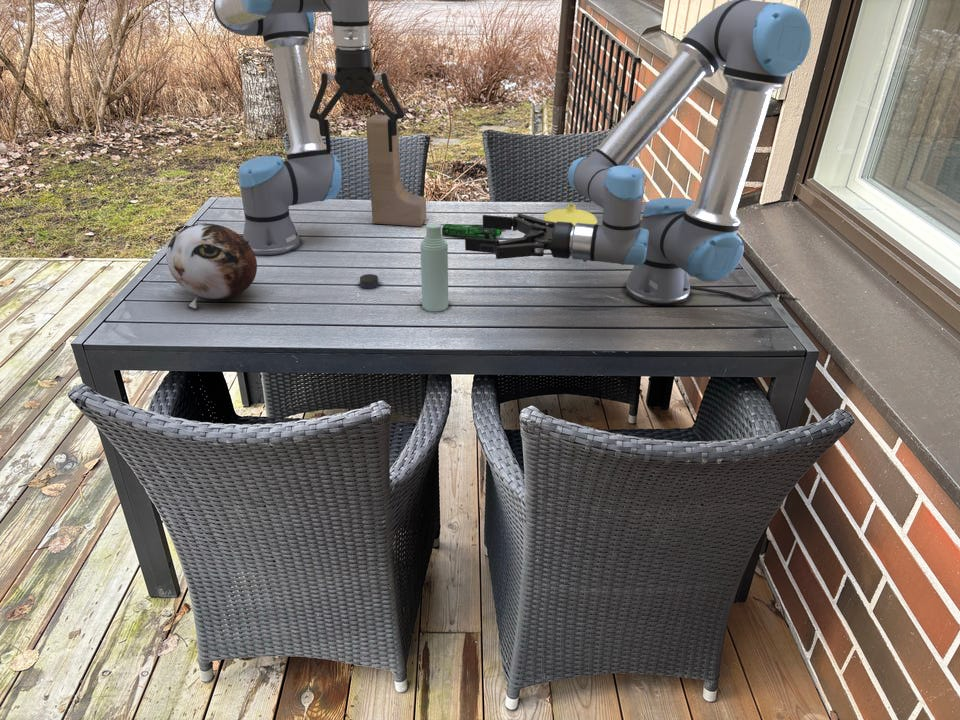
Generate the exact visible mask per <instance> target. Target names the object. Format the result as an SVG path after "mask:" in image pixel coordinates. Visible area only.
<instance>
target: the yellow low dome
mask: <svg viewBox="0 0 960 720" xmlns="http://www.w3.org/2000/svg"><path fill="white" fill-rule="evenodd" d="M543 220H544V221H549V222H555V223H556V222H558V221H559V222H571V223H572V224H573V225H575V224H576V223H586V224H595V225H598V224H597V223H598V219H597V217H596V215H595V214H593V213H591V212H589V211H587V210H584V209H578V208H576V205H575V204H571V203H570V204H567V208H557V209H552V210H549V211H548V212H547V213H545V214H544V216H543Z"/></svg>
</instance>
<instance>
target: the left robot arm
mask: <svg viewBox="0 0 960 720" xmlns="http://www.w3.org/2000/svg"><path fill="white" fill-rule="evenodd" d="M212 11H213V15H214V17H215V19H216V21H217V22H218V23H219V24H220V25H221V26H222V27H223V28H224V29H225V30H226V31H228V32H230V33H233V34H236V35H238V36H239V35H240V36H244V37H262V40H263V45H264V46H266V47H267V48H268V49H269V50H270V51H271V53H272V58H273V63H274V69H275V74H276V79H277V83H278V84H277V85H278V88H279V89H278V90H279V94H280V99H281V104H282V110H283V114H284V119H285V120H284V121H285V125H286V130H287V135H288V140H289V145H290V146H289V149H288V150H287V151H286V153H285V154H286V159H287V160H283V158H282V157H281V156H279V155H262V156H258V157H253V158H251V159H248V160H245V161H244V162H243V163H241V165H240V166H239V167H238V170H237V174H238V186H239V190H240V196H241V201H242V208H243V212H244V213H243V215H244V219H245V220H244V226H243V228H244V229H243V234H242V235H241V234H239V235H240V236H241V237H243V238H244V239H245V240H246V241H249V242H248V244H249V245H250V247H251V248H252V250H253V252H254V254H255V256H256V255H257V256H275V255H281V254H282V255H283V254H285V253H289V252H291V251H293V250H296V249H297V248H298V247H299V246H300V244H301V241H300V235H299V233H298V231H297V229H296V227H295V225H294V223H293V220H292V218H291V216H290V206H296V205H303V204H309V203H316V202H324V201H326V200H333V199H334V198H336V197H338V196H339V194H340V192H341V188H342V183H343V182H342V181H343V172H342V166H341V163H340V160H339V158H338V156H337V155H335V154H334V153H331V152H332V143H331V132H330V123H329V121H330V120H329V119H327V117H328V115H329V114H330V112H331V111H332V110H333V108H334V107H335V106H336V104H337V103H338V102H339V100H340V99H341V98H342V97H343V95H344V94H345V95H348V96H355V95H357V96H364V95H368V96H369V98H371V99H372V100H373V101H374V103H376V105H377V106H378V108H380V109H381V110H382V111H383V113H384V115H387V116H388V117H389V118H390V119H388V121H387V122H388V142H389V152H392V136H396V134H397V123H396V121H397V120H398V121H399V120H400V119H403V118H404V117H405V111H404V109H403V107H402V105H401V104H400V101H399V99H398V98H397V95H396V94H395V92H394V90H393V88H392V86H391V84H390V81H389V78H388V77H389V76H388V73H387V71H386V70H384V71H381V72H378V73H374V70H373V59H372V58H373V57H372V49H370V48H369V47H370V46H371V44H372V43H371V42H372V41H371V25H370V12H369V0H213V1H212ZM314 13H331V24H332V35H333V36H332V37H333V45H334V46H335V47H336V48H335V50H334V62H335V72H334V73H332V72H328V71H326V70H325V71H323V72H322V73H321V76H320V77H321V79H320V86H319V89H318V91H317V94H316V97H315V93H314V87H313V82H312V77H311V72H310V65H309V59H308V55H307V49H306V47H307V45H308V44H309V42H310V40H311V38H310V34H312V33H313V32H314V31H315V14H314ZM333 80H334V81H335V82H336V83H337V85H338V86H339V88H337V90H336V91H335V93H334V94H333V96H332V97H331V98H330V100H329V101H328V102H327V104H326V106H325V107H324V108H323V109H322V111H321V112H318V111H319V108H320V105H321V103H322V101H323V98H324V95H325V93H326V90H327V88H328V85H331V84H332V82H333ZM375 80H377V81H378V83H379V84H380V85H382V87H383V89H384V91H385V93H386V95H387V97H388V99H389V100H390V102H391V104H392V106H393V108H394V110H395V112H394V110H393V109H392V108H391V107H390V106H389V105H388V104H387V103H386V102H385V100H384V99H383V98H382V97H381V96H380V94H379V93H378V92H377V91H376V89H375V88H374V87H373V86H372V85H374V84H373V83H374V82H375ZM323 137H324V138H325V143H324V142H323ZM184 226H185V227H184ZM188 226H189V225H186V224H185V225H180V226H178V227H176V228H175V229H174V230H173V232H174V233H178V232H179V231H180V230H182V228H183V227H184V228H186V227H188ZM184 228H183V229H184Z"/></svg>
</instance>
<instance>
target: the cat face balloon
mask: <svg viewBox="0 0 960 720" xmlns="http://www.w3.org/2000/svg"><path fill="white" fill-rule="evenodd" d="M187 226H188V227H186V228H183V229H180V230H178V231H177V232H176V233H175V234H174V235H173V237H171V239H170V241H169V243H168V245H167V248H166V254H165V260H166V265H167V268H168V271H169V273H170V275H171V276H172V277H173V279H174V280H175V281H176V282H177V284H178V285H180V286H181V287H182V288H183V289H185V290H186V291H187V292H189V293H191V294H194V295H195V298H194V299H193V300H192V302H190V303H189V304H188V306H189V307H191V308H192V309H197V308H198V307H197V298H198V297H201V298H205V299H210V300H226V299H230V298H233V297H236V296H238V295H241V294H242V293H244V292H245V291H247V290H248V289H249V288H250V286H251V285H252V284H253V282H254V280H255V278H256V275H257V271H258V262H257V257H256V254H254V252H253V250H252V248H251V247H250V245H249V244H248V242H249V241H246V240H245V239H244V238H243V237H241V236H240V235H241V234H239V233H238V232H236V231H234V230H233V229H231V228H229V227H226V226H223V225H220V224H215V223H205V222H204V223H195V224H191V225H187Z"/></svg>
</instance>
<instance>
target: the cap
mask: <svg viewBox="0 0 960 720" xmlns="http://www.w3.org/2000/svg"><path fill="white" fill-rule="evenodd" d="M379 284H380V283H379V276H378V275H377V274H373V273H367V274H363V275H361V276H360V277H359V285H360V288H362V289H365V290H372V289H375V288H378V286H379Z"/></svg>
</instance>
